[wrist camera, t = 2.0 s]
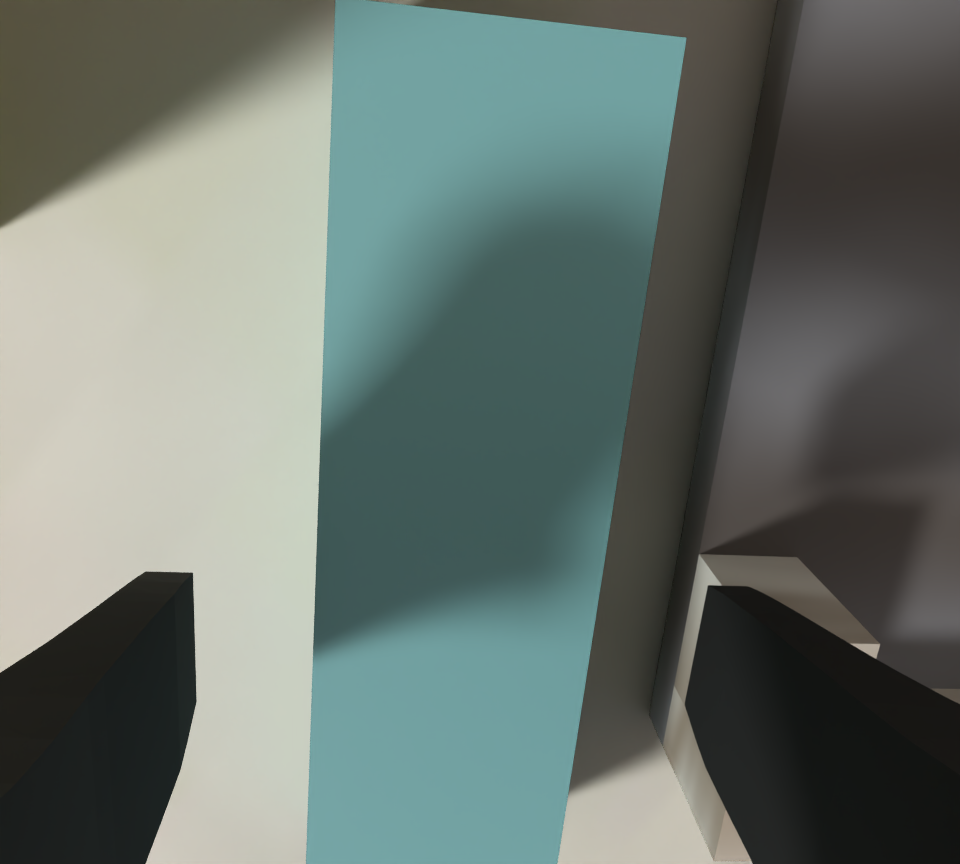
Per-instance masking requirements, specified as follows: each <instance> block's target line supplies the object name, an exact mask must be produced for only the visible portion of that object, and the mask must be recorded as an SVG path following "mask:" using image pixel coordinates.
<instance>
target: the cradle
mask: <svg viewBox="0 0 960 864" xmlns="http://www.w3.org/2000/svg"><path fill="white" fill-rule="evenodd" d="M708 585H718V586H749V587H751V588H753V589H756V590H758V591H760V592H762V593H764V594H766V595H768V596H770V597H772V598H773V599H775V600H777V601H779V602H781V603H782V604H784V605H786V606H788V607H789V608H791V609H793V610H795V611H796V612H798V613H800V614H801V615H803V616H805V617H806V618H808V619H810V620H811V621H813V622H815V623H816V624H818V625H820V626H821V627H823V628H825V629H826V630H828V631H830V632H831V633H833V634H835V635H836V636H838V637H840V638H841V639H843V640H845V641H846V642H848V643H850V644H851V645H853V646H855V647H857V648H858V649H860V650H862V651H863V652H865V653H867V654H868V655H870V656H872V657H874V658H875V659H877V660H879V661H881V662H882V663H884V664H886V665H888V666H889V667H891V668H893V669H895V670H896V671H898V672H900V673H902V674H904V675H906V676H907V677H909V678H911V679H913V680H915V681H917V682H919V683H920V684H922V685H924V686H926V687H928V688H930V689H932V690H934V691H935V692H937V693H939V694H941V695H943V696H945V697H947V698H949V699H951V700H953V701H955V702H957V703H959V704H960V0H778V3H777V9H776V14H775V20H774V25H773V31H772V37H771V42H770V48H769V53H768V59H767V64H766V70H765V75H764V81H763V86H762V92H761V98H760V103H759V109H758V114H757V120H756V125H755V131H754V136H753V142H752V147H751V153H750V158H749V164H748V170H747V175H746V181H745V186H744V192H743V197H742V203H741V208H740V214H739V219H738V225H737V231H736V236H735V242H734V247H733V253H732V258H731V264H730V269H729V275H728V280H727V286H726V292H725V297H724V303H723V308H722V314H721V319H720V325H719V330H718V336H717V341H716V347H715V352H714V358H713V364H712V369H711V375H710V380H709V386H708V391H707V397H706V402H705V408H704V413H703V419H702V425H701V430H700V436H699V441H698V447H697V452H696V458H695V463H694V469H693V474H692V480H691V486H690V491H689V497H688V502H687V508H686V513H685V519H684V524H683V530H682V535H681V541H680V547H679V552H678V558H677V563H676V569H675V574H674V580H673V585H672V591H671V596H670V602H669V607H668V613H667V619H666V624H665V630H664V635H663V641H662V646H661V652H660V657H659V663H658V668H657V674H656V680H655V685H654V691H653V696H652V702H651V707H650V713H649V716H650V719H651V721H652V723H653V725H654V728H655V730H656V732H657V734H658V737H659V739H660V741H661V743H662V746H663V748H664V750H665V752H666V755H667V757H668V759H669V761H670V764H671V766H672V768H673V770H674V773H675V775H676V777H677V779H678V782H679V784H680V786H681V788H682V791H683V793H684V795H685V797H686V800H687V802H688V804H689V806H690V808H691V811H692V813H693V815H694V817H695V820H696V822H697V824H698V826H699V829H700V831H701V833H702V835H703V838H704V840H705V842H706V844H707V847H708V849H709V851H710V853H711V856H712V858H713V860H714V861H751V859H750V857H749V855H748V853H747V851H746V849H745V847H744V845H743V843H742V841H741V839H740V837H739V835H738V833H737V831H736V829H735V827H734V825H733V823H732V821H731V819H730V817H729V815H728V813H727V811H726V809H725V807H724V805H723V803H722V801H721V799H720V797H719V795H718V793H717V790H716V788H715V786H714V784H713V782H712V780H711V778H710V776H709V774H708V772H707V770H706V768H705V765H704V762H703V759H702V756H701V754H700V751H699V748H698V745H697V742H696V739H695V736H694V733H693V730H692V727H691V724H690V720H689V717H688V714H687V711H686V708H685V699H686V694H687V689H688V684H689V679H690V673H691V668H692V663H693V658H694V653H695V648H696V643H697V638H698V633H699V628H700V623H701V618H702V613H703V608H704V603H705V597H706V592H707V587H708Z"/></svg>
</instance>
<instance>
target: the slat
mask: <svg viewBox="0 0 960 864" xmlns="http://www.w3.org/2000/svg"><path fill="white" fill-rule="evenodd" d="M685 45H686V38H685V37H676V36H668V35H659V34H651V33H642V32H634V31H625V30H617V29H608V28H600V27H591V26H582V25H574V24H565V23H557V22H548V21H540V20H531V19H523V18H514V17H505V16H497V15H488V14H480V13H471V12H463V11H454V10H446V9H437V8H429V7H420V6H411V5H403V4H394V3H386V2H377V1H369V0H335V25H334V55H333V84H332V114H331V143H330V173H329V202H328V232H327V261H326V291H325V320H324V350H323V379H322V409H321V438H320V468H319V497H318V527H317V556H316V585H315V615H314V644H313V674H312V703H311V733H310V762H309V792H308V821H307V851H306V864H557V862H558V856H559V849H560V843H561V837H562V830H563V824H564V818H565V811H566V805H567V798H568V792H569V786H570V779H571V773H572V766H573V760H574V754H575V747H576V741H577V734H578V728H579V722H580V715H581V709H582V703H583V696H584V690H585V683H586V677H587V671H588V664H589V658H590V651H591V645H592V639H593V632H594V626H595V620H596V613H597V607H598V600H599V594H600V588H601V581H602V575H603V568H604V562H605V556H606V549H607V543H608V536H609V530H610V524H611V517H612V511H613V505H614V498H615V492H616V485H617V479H618V473H619V466H620V460H621V453H622V447H623V441H624V434H625V428H626V422H627V415H628V409H629V402H630V396H631V390H632V383H633V377H634V370H635V364H636V358H637V351H638V345H639V339H640V332H641V326H642V319H643V313H644V307H645V300H646V294H647V287H648V281H649V275H650V268H651V262H652V255H653V249H654V243H655V236H656V230H657V224H658V217H659V211H660V204H661V198H662V192H663V185H664V179H665V172H666V166H667V160H668V153H669V147H670V141H671V134H672V128H673V121H674V115H675V109H676V102H677V96H678V89H679V83H680V77H681V70H682V64H683V57H684V51H685Z"/></svg>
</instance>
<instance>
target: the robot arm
mask: <svg viewBox="0 0 960 864" xmlns="http://www.w3.org/2000/svg"><path fill="white" fill-rule="evenodd" d="M195 706H196V669H195V633H194V597H193V573H180V572H144V573H143V574H141V575H140V576H138V577H137V578H135V579H134V580H132V581H131V582H130V583H128V584H127V585H125V586H124V587H123V588H121V589H120V590H119V591H117V592H116V593H115V594H113V595H112V596H111V597H109V598H108V599H107V600H105V601H104V602H103V603H101V604H100V605H99V606H97V607H96V608H94V609H93V610H92V611H90V612H89V613H88V614H86V615H85V616H83V617H82V618H81V619H79V620H78V621H76V622H75V623H74V624H72V625H71V626H70V627H68V628H67V629H65V630H64V631H63V632H61V633H60V634H58V635H57V636H56V637H54V638H53V639H51V640H50V641H49V642H47V643H46V644H44V645H43V646H41V647H39V648H38V649H36V650H35V651H33V652H32V653H30V654H29V655H27V656H26V657H24V658H22V659H21V660H19V661H18V662H16V663H15V664H13V665H12V666H10V667H8V668H7V669H5V670H4V671H2V672H1V673H0V864H145V863H146V861H147V858H148V855H149V853H150V850H151V847H152V845H153V842H154V840H155V837H156V834H157V832H158V829H159V826H160V824H161V821H162V818H163V816H164V813H165V810H166V808H167V805H168V802H169V800H170V797H171V794H172V791H173V789H174V786H175V783H176V781H177V778H178V775H179V772H180V769H181V766H182V761H183V757H184V753H185V749H186V745H187V741H188V737H189V732H190V728H191V723H192V719H193V714H194V710H195ZM685 708H686V711H687V714H688V717H689V720H690V724H691V727H692V730H693V733H694V736H695V739H696V742H697V745H698V748H699V751H700V754H701V756H702V759H703V762H704V765H705V768H706V770H707V772H708V774H709V776H710V778H711V780H712V782H713V784H714V786H715V788H716V790H717V793H718V795H719V797H720V799H721V801H722V803H723V805H724V807H725V809H726V811H727V813H728V815H729V817H730V819H731V821H732V823H733V825H734V827H735V829H736V831H737V833H738V835H739V837H740V839H741V841H742V843H743V845H744V847H745V849H746V851H747V853H748V855H749V857H750V859H751V861H752V863H753V864H960V704H959V703H957V702H955V701H953V700H951V699H949V698H947V697H945V696H943V695H941V694H939V693H937V692H935V691H934V690H932V689H930V688H928V687H926V686H924V685H922V684H920V683H919V682H917V681H915V680H913V679H911V678H909V677H907V676H906V675H904V674H902V673H900V672H898V671H896V670H895V669H893V668H891V667H889V666H888V665H886V664H884V663H882V662H881V661H879V660H877V659H875V658H874V657H872V656H870V655H868V654H867V653H865V652H863V651H862V650H860V649H858V648H857V647H855V646H853V645H851V644H850V643H848V642H846V641H845V640H843V639H841V638H840V637H838V636H836V635H835V634H833V633H831V632H830V631H828V630H826V629H825V628H823V627H821V626H820V625H818V624H816V623H815V622H813V621H811V620H810V619H808V618H806V617H805V616H803V615H801V614H800V613H798V612H796V611H795V610H793V609H791V608H789V607H788V606H786V605H784V604H782V603H781V602H779V601H777V600H775V599H773V598H772V597H770V596H768V595H766V594H764V593H762V592H760V591H758V590H756V589H753V588H751V587H749V586H718V585H708V587H707V592H706V597H705V603H704V608H703V613H702V618H701V623H700V628H699V633H698V638H697V643H696V648H695V653H694V658H693V663H692V668H691V673H690V679H689V684H688V689H687V694H686V699H685Z"/></svg>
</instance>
